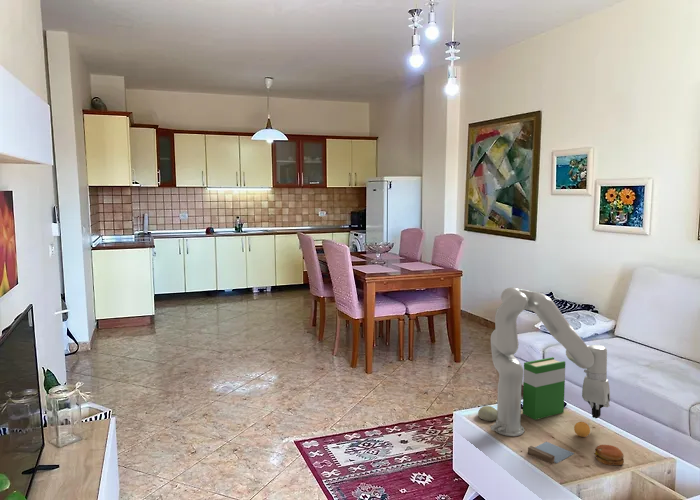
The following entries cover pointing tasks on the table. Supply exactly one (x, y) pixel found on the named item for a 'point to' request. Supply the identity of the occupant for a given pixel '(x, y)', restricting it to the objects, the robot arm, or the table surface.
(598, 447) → the burger
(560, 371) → the hardback book
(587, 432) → the ball
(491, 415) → the sea urchin shell
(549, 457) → the stopper wall
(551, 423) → the table surface
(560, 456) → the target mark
